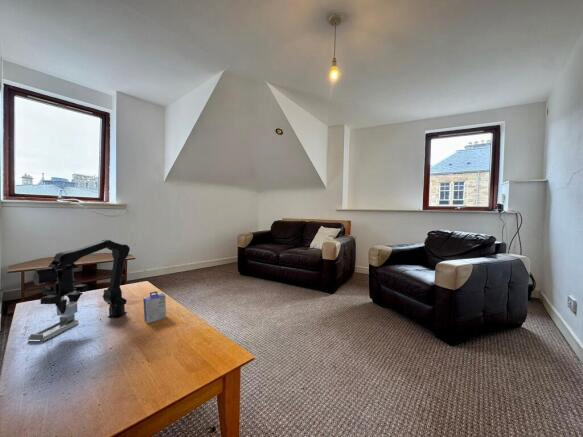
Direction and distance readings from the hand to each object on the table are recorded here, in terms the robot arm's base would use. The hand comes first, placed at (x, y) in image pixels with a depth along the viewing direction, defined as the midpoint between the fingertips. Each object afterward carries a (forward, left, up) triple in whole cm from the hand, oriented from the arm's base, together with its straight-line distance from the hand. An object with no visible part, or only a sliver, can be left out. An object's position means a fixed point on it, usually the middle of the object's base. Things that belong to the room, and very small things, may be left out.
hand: (67, 311), depth 117 cm
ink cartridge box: (-33, -16, -11) cm, 38 cm away
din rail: (+8, -2, -11) cm, 14 cm away
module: (0, 0, -1) cm, 1 cm away
